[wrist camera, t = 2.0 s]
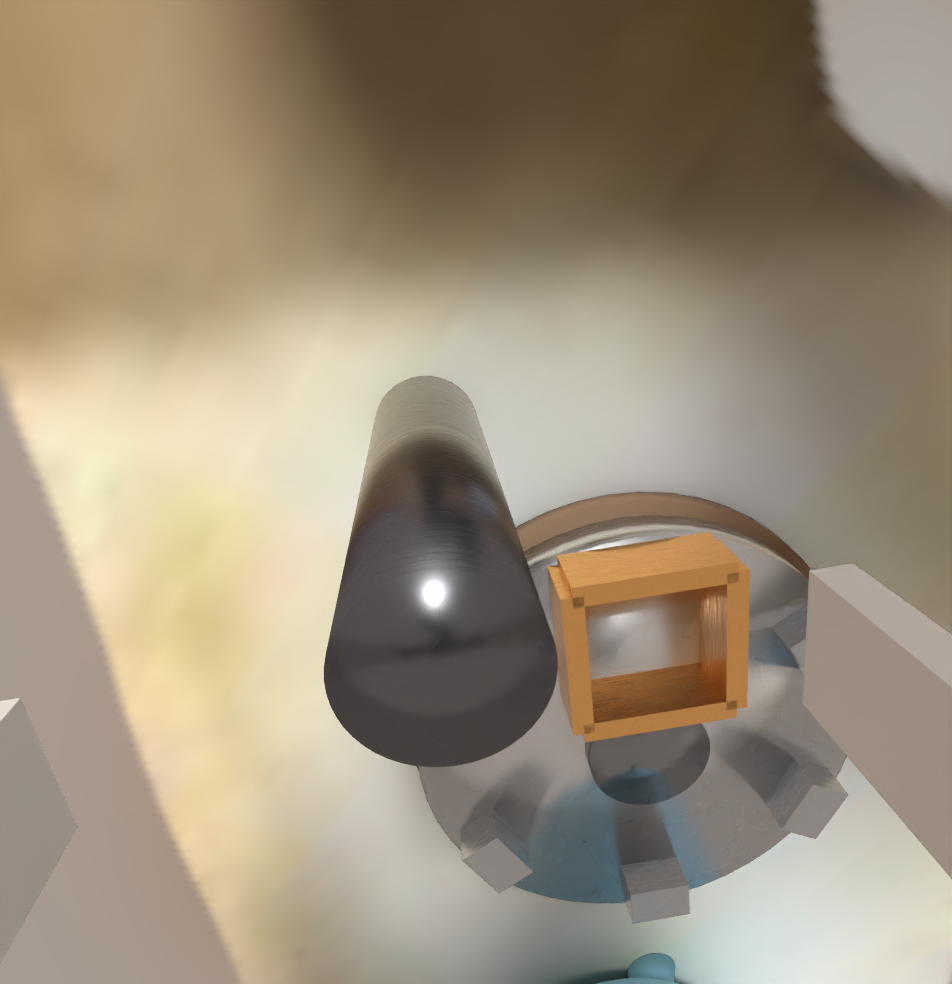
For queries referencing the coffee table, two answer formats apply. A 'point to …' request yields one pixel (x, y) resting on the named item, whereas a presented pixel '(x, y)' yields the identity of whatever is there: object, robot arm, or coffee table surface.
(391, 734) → the steel pin
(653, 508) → the nut base
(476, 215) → the coffee table surface
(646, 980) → the teapot
